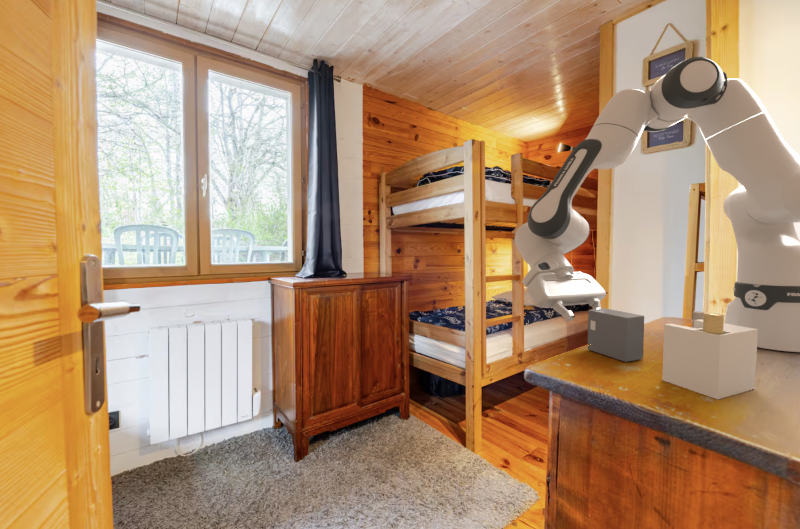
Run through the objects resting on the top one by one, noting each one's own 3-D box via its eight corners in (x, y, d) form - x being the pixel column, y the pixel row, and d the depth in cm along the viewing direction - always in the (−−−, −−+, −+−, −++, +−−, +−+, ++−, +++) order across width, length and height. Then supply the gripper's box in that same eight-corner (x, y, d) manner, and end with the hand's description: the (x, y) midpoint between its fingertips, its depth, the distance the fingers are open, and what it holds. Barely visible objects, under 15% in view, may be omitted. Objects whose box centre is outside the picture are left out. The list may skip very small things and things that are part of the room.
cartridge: (603, 346, 79) (604, 308, 78) (643, 358, 71) (644, 315, 70) (587, 349, 77) (588, 310, 77) (625, 362, 69) (626, 318, 68)
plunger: (707, 348, 56) (709, 312, 56) (725, 352, 54) (727, 315, 54) (698, 350, 55) (699, 313, 55) (716, 354, 53) (718, 316, 53)
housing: (698, 372, 64) (700, 319, 63) (754, 388, 56) (757, 329, 55) (662, 380, 60) (664, 324, 59) (717, 399, 53) (720, 335, 52)
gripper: (576, 279, 94) (608, 321, 85) (516, 282, 86) (544, 328, 78) (591, 263, 89) (626, 306, 81) (529, 265, 82) (560, 313, 73)
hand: (586, 317), depth 79 cm, fingers open, 8 cm apart
